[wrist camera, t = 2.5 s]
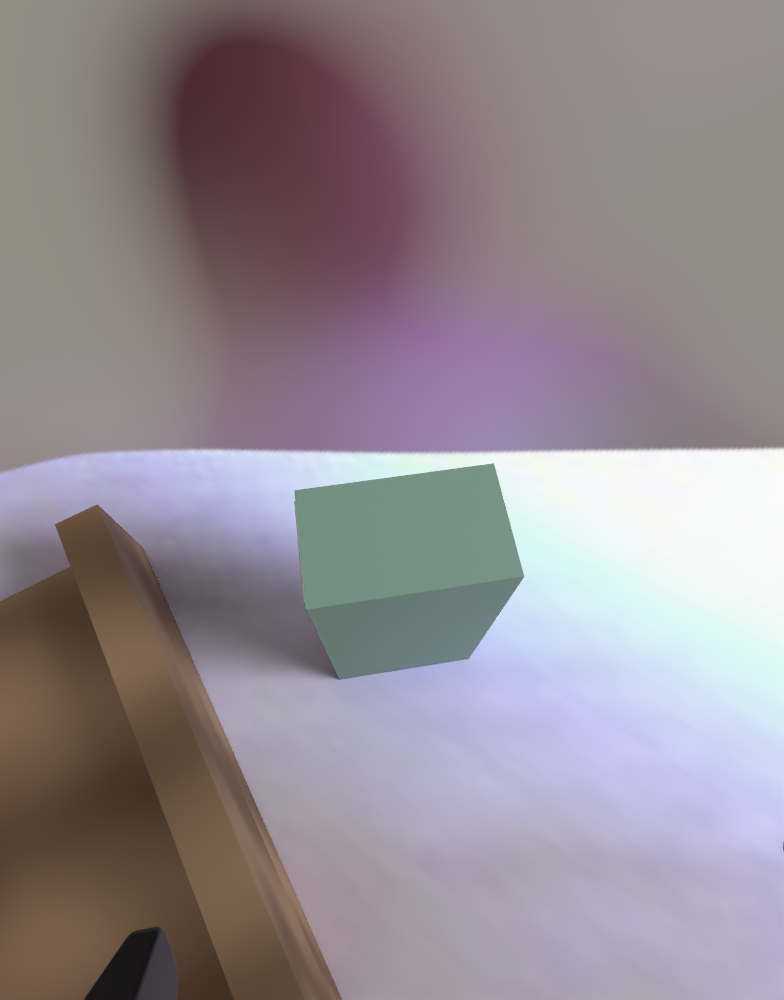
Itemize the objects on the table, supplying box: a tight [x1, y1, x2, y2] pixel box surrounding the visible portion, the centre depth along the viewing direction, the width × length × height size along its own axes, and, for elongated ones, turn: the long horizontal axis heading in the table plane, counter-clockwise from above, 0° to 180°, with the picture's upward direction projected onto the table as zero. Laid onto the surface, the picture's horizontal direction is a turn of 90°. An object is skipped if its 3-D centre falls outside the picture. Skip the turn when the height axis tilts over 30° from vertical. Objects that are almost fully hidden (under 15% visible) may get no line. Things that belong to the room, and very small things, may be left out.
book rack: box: [0, 505, 342, 1000], centre depth 18 cm, size 18×10×4 cm, turn 31°
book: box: [294, 464, 524, 679], centre depth 18 cm, size 3×5×10 cm, turn 99°
